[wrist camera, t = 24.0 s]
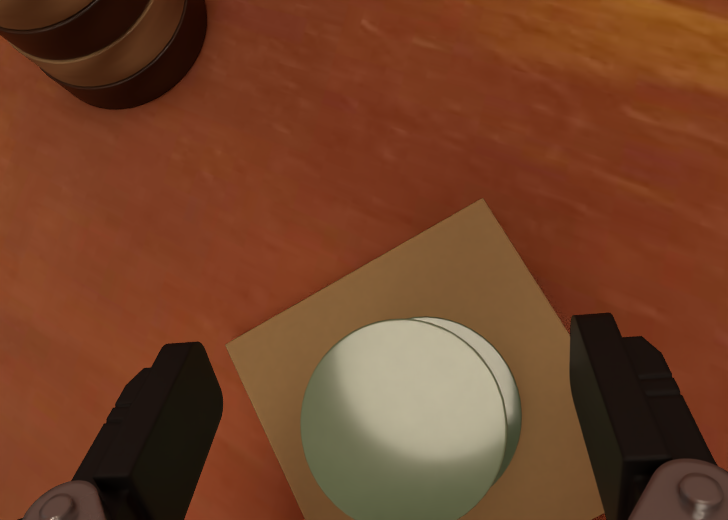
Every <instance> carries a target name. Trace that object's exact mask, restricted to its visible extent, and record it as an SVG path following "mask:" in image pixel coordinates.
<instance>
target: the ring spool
mask: <svg viewBox="0 0 728 520" xmlns="http://www.w3.org/2000/svg"><path fill="white" fill-rule="evenodd" d="M521 426H522V408H521V399H520V395H519V390H518V387H517V384H516V381H515V378H514V376H513V374H512V372H511V370H510V368H509V366H508V364H507V363H506V361H505V360H504V358H503V357H502V355H501V354H500V353H499V352H498V351H497V349H496V348H495V347H494V346H493V345H492V344H491V343H490V342H489V341H488V340H486V339H485V338H484V337H483V336H482V335H480V334H479V333H477V332H476V331H474V330H473V329H471V328H469V327H467V326H465V325H463V324H461V323H458V322H455V321H452V320H449V319H444V318H439V317H428V316H423V317H411V318H406V319H403V318H402V319H388V320H382V321H377V322H374V323H371V324H368V325H365V326H363V327H361V328H358V329H356V330H354V331H352V332H351V333H349V334H348V335H346V336H345V337H343V338H342V339H341V340H339V341H338V342H337V343H336V344H335V345H334V346H332V347H331V348H330V350H329V351H328V352H327V353H326V354H325V355H324V356H323V358H322V359H321V360H320V362H319V363H318V365H317V366H316V368H315V370H314V372H313V373H312V375H311V377H310V379H309V382H308V385H307V387H306V390H305V393H304V398H303V402H302V407H301V416H300V432H301V440H302V446H303V450H304V454H305V458H306V461H307V463H308V466H309V468H310V471H311V473H312V475H313V477H314V478H315V480H316V482H317V484H318V485H319V487H320V488H321V489H322V491H323V492H324V494H325V495H326V496H327V497H328V498H329V499H330V500H331V501H332V502H333V504H334V505H335V506H337V507H338V508H339V509H340V510H341V511H343V512H344V513H345V514H346V515H348V516H349V517H351V518H353V519H354V520H458V519H459V518H461V517H463V516H464V515H466V514H467V513H468V512H469V511H470V510H471V509H473V508H474V507H475V506H476V505H477V504H478V503H479V502H480V501H481V499H482V498H483V497H484V496H485V495H486V493H487V492H488V490H489V489H490V488H491V487H492V486H493V485H494V484H495V483H496V482H497V481H498V479H499V478H500V477H501V476H502V475H503V473H504V472H505V470H506V469H507V467H508V466H509V464H510V462H511V460H512V458H513V456H514V454H515V451H516V448H517V445H518V442H519V438H520V432H521Z"/></svg>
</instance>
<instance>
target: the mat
mask: <svg viewBox="0 0 728 520" xmlns="http://www.w3.org/2000/svg"><path fill="white" fill-rule="evenodd" d="M423 316H428V317H439V318H444V319H449V320H452V321H455V322H458V323H461V324H463V325H465V326H467V327H469V328H471V329H473V330H474V331H476V332H477V333H479V334H480V335H482V336H483V337H484V338H485V339H486V340H488V341H489V342H490V343H491V344H492V345H493V346H494V347H495V348H496V349H497V351H498V352H499V353H500V354H501V355H502V357H503V358H504V360H505V361H506V363H507V364H508V366H509V368H510V370H511V372H512V374H513V376H514V378H515V381H516V384H517V387H518V390H519V395H520V399H521V408H522V426H521V432H520V438H519V442H518V445H517V448H516V451H515V454H514V456H513V458H512V460H511V462H510V464H509V466H508V467H507V469H506V470H505V472H504V473H503V475H502V476H501V477H500V478H499V479H498V481H497V482H496V483H495V484H494V485H493V486H492V487H491V488H490V489H489V490H488V492H487V493H486V495H485V496H484V497H483V498H482V499H481V501H480V502H479V503H478V504H477V505H476V506H475V507H474V508H473V509H471V510H470V511H469V512H468V513H467V514H466V515H464V516H463V517H461V518H459V519H458V520H592V519H594V518H596V517H598V516H600V515H601V514H603V513H605V512H604V509H603V505H602V502H601V498H600V494H599V491H598V487H597V484H596V480H595V477H594V473H593V470H592V466H591V462H590V459H589V455H588V452H587V448H586V445H585V441H584V438H583V434H582V430H581V427H580V423H579V420H578V416H577V413H576V409H575V406H574V402H573V398H572V393H571V387H570V377H569V362H570V335H569V333H568V332H567V330H566V328H565V327H564V325H563V324H562V322H561V321H560V319H559V317H558V316H557V314H556V313H555V311H554V310H553V308H552V306H551V305H550V303H549V302H548V300H547V298H546V297H545V295H544V294H543V292H542V291H541V289H540V287H539V286H538V284H537V283H536V281H535V279H534V278H533V276H532V275H531V273H530V272H529V270H528V268H527V267H526V265H525V264H524V262H523V261H522V259H521V257H520V256H519V254H518V253H517V251H516V249H515V248H514V246H513V245H512V243H511V242H510V240H509V238H508V237H507V235H506V234H505V232H504V231H503V229H502V227H501V226H500V224H499V223H498V221H497V219H496V218H495V216H494V215H493V213H492V212H491V210H490V208H489V207H488V205H487V204H486V202H485V200H484V199H483V198H482V199H480V200H478V201H476V202H475V203H473V204H471V205H469V206H468V207H466V208H464V209H462V210H461V211H459V212H457V213H455V214H454V215H452V216H450V217H448V218H447V219H445V220H443V221H441V222H440V223H438V224H436V225H434V226H432V227H431V228H429V229H427V230H425V231H424V232H422V233H420V234H418V235H417V236H415V237H413V238H411V239H410V240H408V241H406V242H404V243H403V244H401V245H399V246H397V247H396V248H394V249H392V250H390V251H389V252H387V253H385V254H383V255H382V256H380V257H378V258H376V259H375V260H373V261H371V262H369V263H368V264H366V265H364V266H362V267H360V268H359V269H357V270H355V271H353V272H352V273H350V274H348V275H346V276H345V277H343V278H341V279H339V280H338V281H336V282H334V283H332V284H331V285H329V286H327V287H325V288H324V289H322V290H320V291H318V292H317V293H315V294H313V295H311V296H310V297H308V298H306V299H304V300H303V301H301V302H299V303H297V304H296V305H294V306H292V307H290V308H289V309H287V310H285V311H283V312H281V313H280V314H278V315H276V316H274V317H273V318H271V319H269V320H267V321H266V322H264V323H262V324H260V325H259V326H257V327H255V328H253V329H252V330H250V331H248V332H246V333H245V334H243V335H241V336H239V337H238V338H236V339H234V340H232V341H231V342H229V343H227V344H226V345H225V346H226V348H227V350H228V352H229V355H230V357H231V359H232V361H233V363H234V365H235V368H236V370H237V372H238V374H239V376H240V379H241V381H242V383H243V385H244V387H245V389H246V392H247V394H248V396H249V398H250V400H251V403H252V405H253V407H254V409H255V411H256V413H257V416H258V418H259V420H260V422H261V424H262V427H263V429H264V431H265V433H266V435H267V437H268V440H269V442H270V444H271V446H272V448H273V451H274V453H275V455H276V457H277V459H278V461H279V464H280V466H281V468H282V470H283V472H284V474H285V477H286V479H287V481H288V483H289V485H290V488H291V490H292V492H293V494H294V496H295V498H296V501H297V503H298V505H299V507H300V509H301V512H302V514H303V516H304V518H305V520H354V519H353V518H351V517H349V516H348V515H346V514H345V513H344V512H343V511H341V510H340V509H339V508H338V507H337V506H335V505H334V504H333V502H332V501H331V500H330V499H329V498H328V497H327V496H326V495H325V494H324V492H323V491H322V489H321V488H320V487H319V485H318V484H317V482H316V480H315V478H314V477H313V475H312V473H311V471H310V468H309V466H308V463H307V461H306V458H305V454H304V450H303V446H302V440H301V432H300V416H301V407H302V402H303V398H304V393H305V390H306V387H307V385H308V382H309V379H310V377H311V375H312V373H313V372H314V370H315V368H316V366H317V365H318V363H319V362H320V360H321V359H322V358H323V356H324V355H325V354H326V353H327V352H328V351H329V350H330V348H331V347H332V346H334V345H335V344H336V343H337V342H338V341H339V340H341V339H342V338H343V337H345V336H346V335H348V334H349V333H351V332H352V331H354V330H356V329H358V328H361V327H363V326H365V325H368V324H371V323H374V322H377V321H382V320H388V319H402V318H403V319H406V318H411V317H423Z"/></svg>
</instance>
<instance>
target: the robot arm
mask: <svg viewBox="0 0 728 520" xmlns="http://www.w3.org/2000/svg"><path fill="white" fill-rule="evenodd" d="M569 377H570V387H571V393H572V398H573V402H574V406H575V409H576V413H577V416H578V420H579V423H580V427H581V430H582V434H583V438H584V441H585V445H586V448H587V452H588V455H589V459H590V462H591V466H592V470H593V473H594V477H595V480H596V484H597V487H598V491H599V494H600V498H601V502H602V505H603V509H604V512H605V516H606V519H607V520H728V472H727V471H725V470H724V469H722V468H720V467H718V465H717V464H716V462H715V461H714V459H713V457H712V455H711V453H710V451H709V449H708V447H707V445H706V443H705V441H704V439H703V437H702V435H701V433H700V431H699V428H698V426H697V424H696V422H695V420H694V418H693V416H692V414H691V412H690V410H689V408H688V406H687V404H686V402H685V400H684V398H683V396H682V395H680V390H679V388H678V386H677V384H676V382H675V380H674V378H672V373H671V371H670V369H669V367H668V365H667V363H666V361H665V359H664V357H663V355H662V353H661V352H660V351H658V350H657V349H656V348H655V347H654V346H653V345H651V344H650V343H649V342H648V341H647V340H646V339H644V338H643V337H642V336H637V337H622V336H621V334H620V331H619V329H618V327H617V324H616V322H615V320H614V317H613V315H612V314H611V313H598V314H585V315H573V316H572V317H571V328H570V362H569ZM222 411H223V396H222V391H221V388H220V386H219V383H218V381H217V378H216V376H215V373H214V371H213V368H212V366H211V363H210V361H209V358H208V356H207V353H206V351H205V348H204V346H203V345H202V344H201V343H200V342H185V343H172V344H166V345H164V346H163V347H162V349H161V350H160V352H159V354H158V356H157V358H156V359H155V361H154V363H153V365H152V367H151V368H144V369H143V370H141V371H140V372H139V373H138V374H137V375H136V376H135V377H134V378H133V379H132V380H131V381H130V382H129V383H128V384H127V385H126V386H125V388H124V390H123V391H122V393H121V395H120V397H119V398H118V400H117V402H116V404H115V408H113V409H112V411H111V412H110V414H109V416H108V418H107V419H106V420H107V423H105V424H104V425H103V426H102V428H101V430H100V432H99V433H98V435H97V437H96V439H95V440H94V442H93V444H92V446H91V447H90V449H89V451H88V453H87V454H86V456H85V458H84V460H83V461H82V463H81V465H80V467H79V468H78V470H77V472H76V474H75V475H74V477H73V479H72V480H71V481H70V482H66V483H63V484H60V485H58V486H56V487H54V488H52V489H50V490H49V491H47V492H46V493H44V494H43V495H42V496H41V497H39V498H38V499H37V500H36V501H35V502H34V503H33V504H32V505H31V507H30V508H29V509H28V511H27V512H26V514H25V515H24V517H23V518H21V519H18V520H184V518H185V515H186V513H187V510H188V507H189V504H190V502H191V499H192V496H193V494H194V491H195V488H196V485H197V483H198V480H199V477H200V474H201V472H202V469H203V466H204V463H205V461H206V458H207V455H208V452H209V450H210V447H211V444H212V442H213V439H214V436H215V433H216V431H217V428H218V425H219V422H220V420H221V416H222Z"/></svg>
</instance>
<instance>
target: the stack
mask: <svg viewBox="0 0 728 520" xmlns="http://www.w3.org/2000/svg"><path fill="white" fill-rule="evenodd" d="M205 31H206V7H205V3H204V0H0V35H1V36H2V37H4V38H5V39H6V40H7V41H8V42H9V43H10V44H11V45H12V46H13V47H14V48H15V49H16V50H17V51H19V52H20V53H21V54H23V55H24V56H25V57H27V58H28V59H29V60H31V61H32V62H33V63H35V64H36V65H38V66H39V67H40V69H41V70H42V71H43V72H44V73H45V74H46V75H47V76H49V77H50V78H51V79H53V80H54V81H56V82H57V83H58V84H60V85H61V86H62V87H64V88H65V89H66V90H68V91H69V92H71V93H72V94H73V95H75V96H76V97H78V98H79V99H80V100H82V101H84V102H86V103H88V104H90V105H94V106H97V107H101V108H108V109H123V108H130V107H134V106H138V105H142V104H144V103H147V102H149V101H151V100H153V99H155V98H157V97H159V96H161V95H162V94H164V93H165V92H167V91H168V90H170V89H171V88H172V87H173V86H174V85H175V84H177V83H178V82H179V81H180V79H181V78H182V77H183V76H184V75H185V74H186V73H187V71H188V70H189V69H190V67H191V66H192V64H193V63H194V61H195V59H196V58H197V56H198V54H199V51H200V49H201V47H202V43H203V40H204V37H205Z"/></svg>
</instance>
